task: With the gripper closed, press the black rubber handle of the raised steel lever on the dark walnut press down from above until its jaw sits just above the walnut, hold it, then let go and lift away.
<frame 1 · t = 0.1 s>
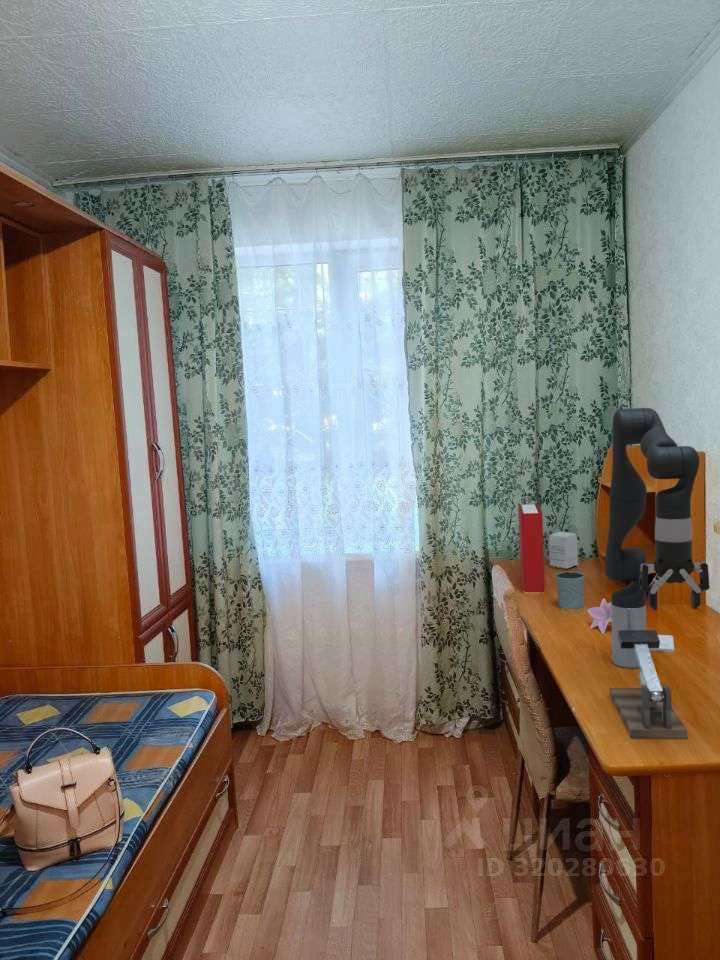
hand: (674, 608, 164), 29 cm above the table, tool pointing down, fingers open, 8 cm apart
lily: (604, 629, 242), on the table
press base: (645, 715, 177), on the table
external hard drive: (659, 646, 225), on the table
blue plant pot: (570, 607, 268), on the table
book: (532, 585, 300), on the table
supplement box: (563, 567, 327), on the table
lever: (646, 667, 175), point 12 cm above the table, hinge at 25.0°
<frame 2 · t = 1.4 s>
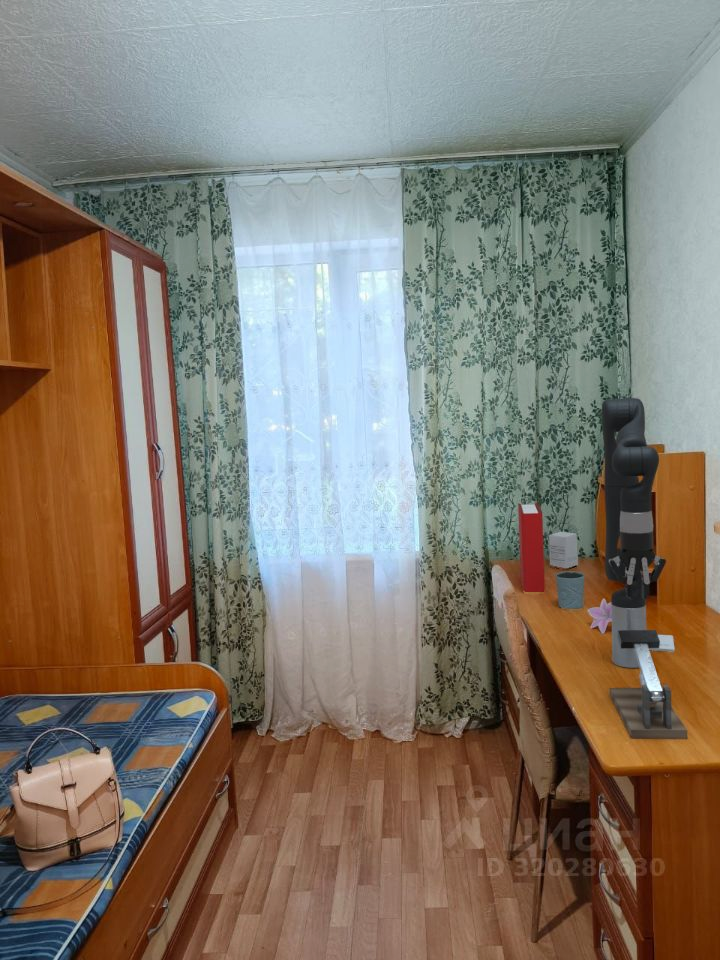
hand: (637, 598, 181), 27 cm above the table, tool pointing down, fingers closed
nothing on the table moved.
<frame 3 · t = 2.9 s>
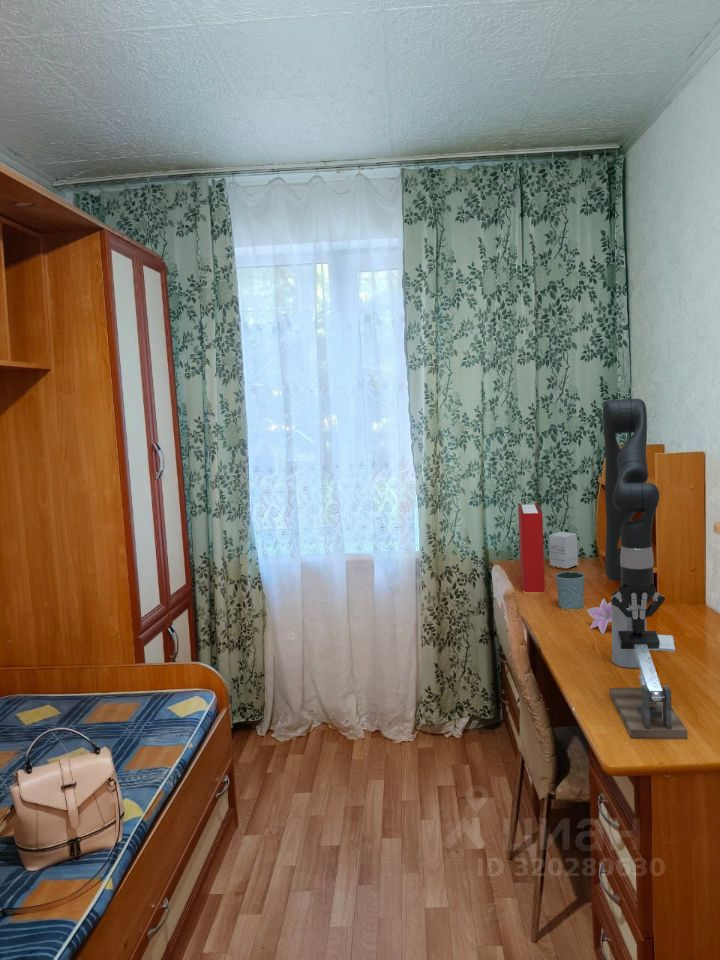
hand: (637, 632, 182), 18 cm above the table, tool pointing down, fingers closed
lever: (646, 667, 175), point 12 cm above the table, hinge at 24.4°, touching gripper
everything else where it was.
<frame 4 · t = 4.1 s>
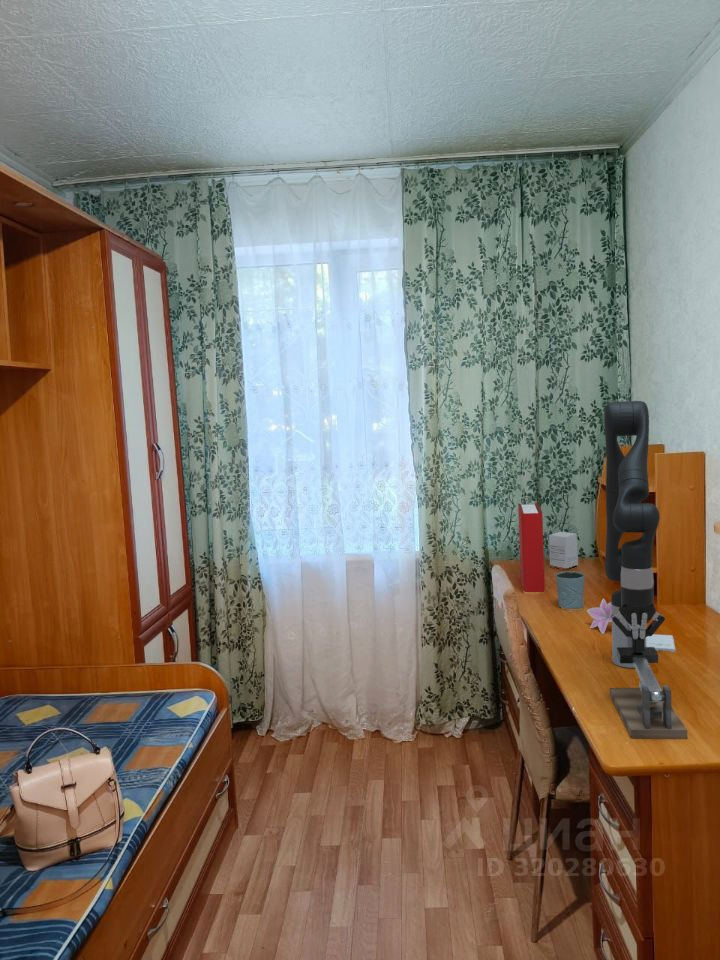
hand: (637, 652, 183), 13 cm above the table, tool pointing down, fingers closed
lever: (645, 676, 176), point 10 cm above the table, hinge at 9.5°, touching gripper
everything else where it was.
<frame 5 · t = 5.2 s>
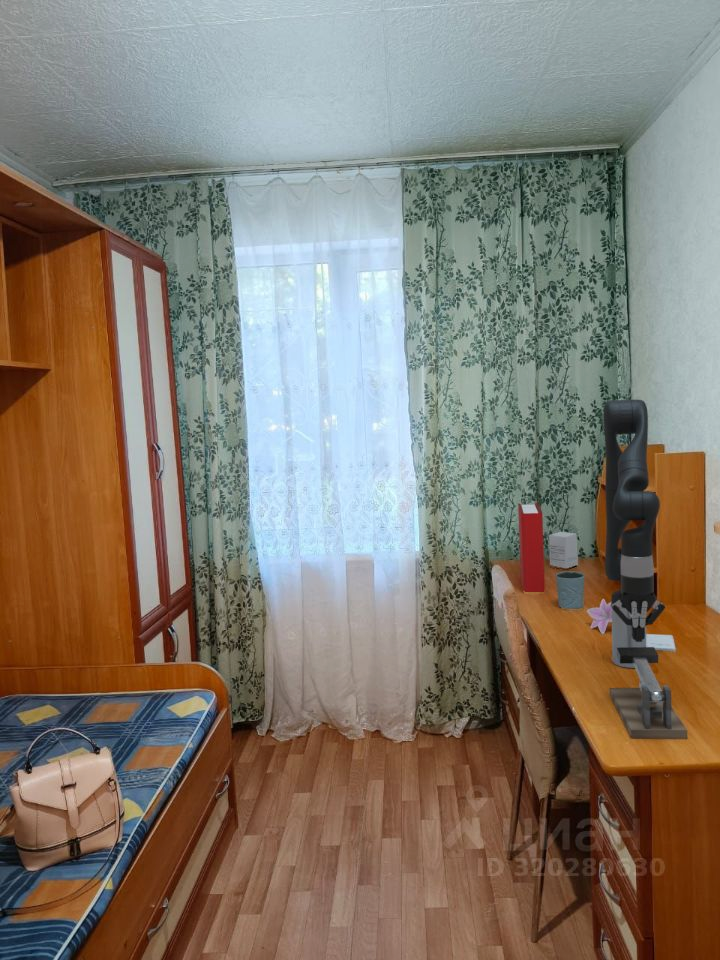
hand: (638, 640, 182), 16 cm above the table, tool pointing down, fingers closed
lever: (645, 676, 176), point 10 cm above the table, hinge at 9.4°
everything else where it was.
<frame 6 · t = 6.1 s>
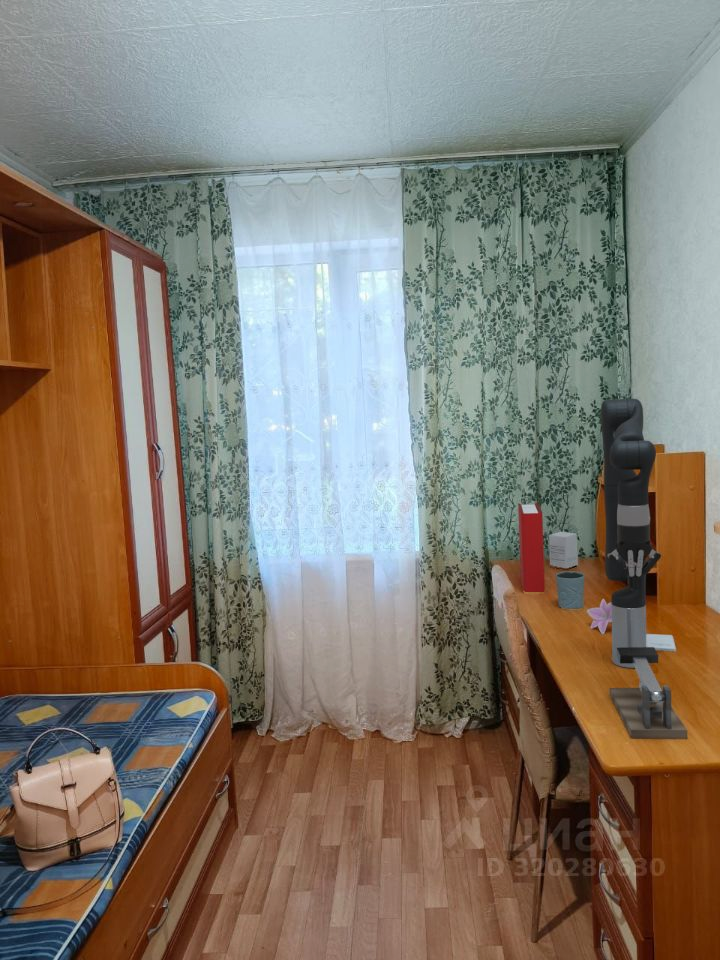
hand: (634, 589, 184), 28 cm above the table, tool pointing down, fingers closed
nothing on the table moved.
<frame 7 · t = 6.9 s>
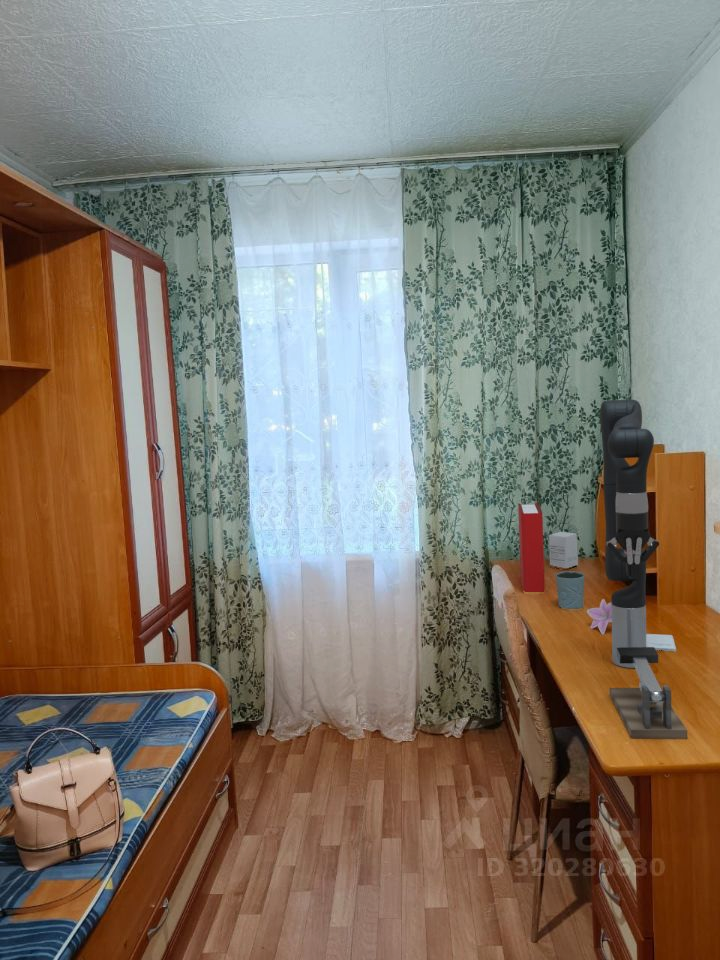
hand: (632, 577, 185), 31 cm above the table, tool pointing down, fingers closed
nothing on the table moved.
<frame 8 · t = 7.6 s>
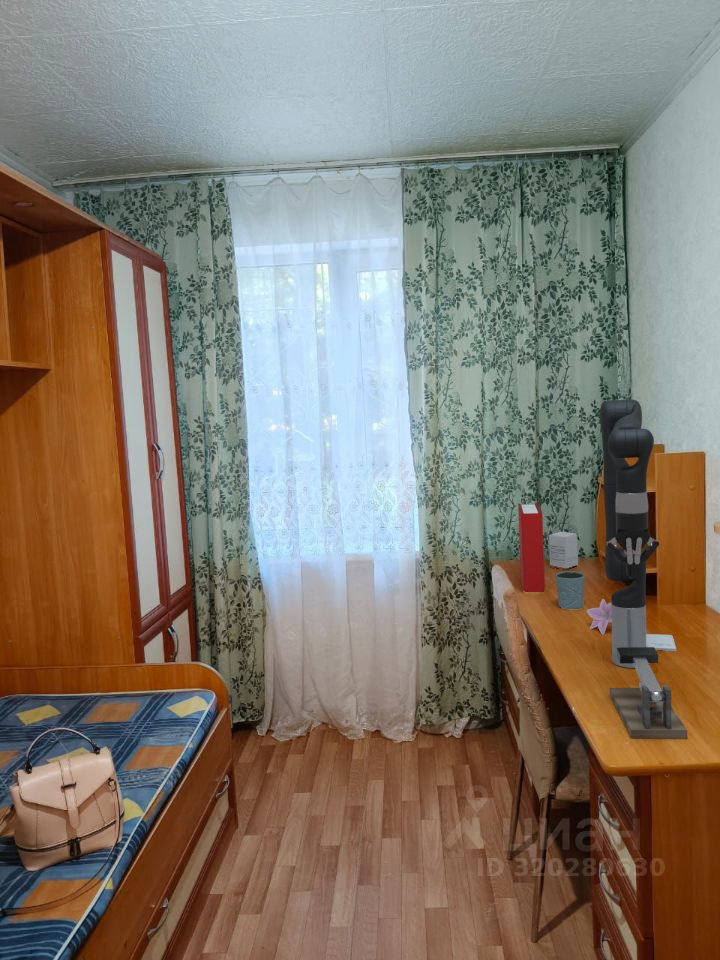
hand: (632, 577, 185), 31 cm above the table, tool pointing down, fingers closed
nothing on the table moved.
at the end: lever at +9° (first picture: +25°); the gripper is holding nothing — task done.
